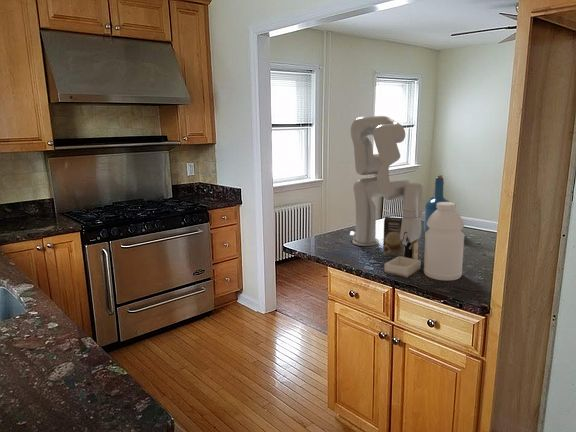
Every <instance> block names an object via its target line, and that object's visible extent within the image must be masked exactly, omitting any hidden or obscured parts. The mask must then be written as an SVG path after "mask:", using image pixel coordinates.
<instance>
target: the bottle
mask: <svg viewBox="0 0 576 432" xmlns="http://www.w3.org/2000/svg"><path fill="white" fill-rule="evenodd" d="M456 207H457V206H456V203H454V202H450V201H449V202H439V203H437V205H436V208H438V209H437V210H435V211H434V212H433V213H432V214H431V216H430V217H429V219H428V221H427V223H426V224H427V226H428V227H429V229H428V230H427V231H426V232H425V231H424V258H423V259H424V260H423V261H424V262H423V263H424V264H423V273H424V275H425V276H427V277H428V278H430V279H434V280H438V281H446V282H447V281H457V280H458V279H460V278H461V277H462V275H463V262H464V246H465V237H466V236H465V234H464V232H462V230H463V228H464V227H465V224H464V221H463V219H462V217H461V215H460V214H459V213H458V211H457V210H456Z"/></svg>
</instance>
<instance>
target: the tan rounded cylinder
mask: <svg viewBox="0 0 576 432" xmlns="http://www.w3.org/2000/svg"><path fill="white" fill-rule="evenodd" d="M407 241H409V240H407ZM408 244H409V245H410V243H408ZM403 257H405V248H404V256H403ZM406 258H407V257H406ZM411 259H416V260H419V240H418V241H413V242H412V258H411Z"/></svg>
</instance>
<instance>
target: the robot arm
mask: <svg viewBox="0 0 576 432" xmlns="http://www.w3.org/2000/svg"><path fill="white" fill-rule="evenodd" d="M368 136H372V137H373V141H374V144H375V148H376V150H377V153H374V151H373V144H372V142H371V140H370V138H369V137H368ZM350 137H351V140H352V144H353V150H354V151H353V152H354V153H353V154H354V166H355V167H354V168H355V171H356V172H355V173H356V174H357V175H359V176H369V175H370V176H371V175H373V176H374V177H364V178H359V179H358V180H356V181H355V182H354V184H353V193H354V200H355V202H354V204H355V231H350V233H349V237H350V238H353V239H352V241H351V242H352V244H353V245H356V246H360V247H374V246H376V245H379V239H378V238H376V234H377V233H376V231H377V230H376V229H377V228H376V227H377V226H376V223H377V221H376V220H377V215H376V214H377V212H376V211H377V208H376V207H377V206H376V204H375V202H374V200H373V198H380V197H383V199H384V200H386V201H395V200H401V199H402V218H403V219H402V224H401V233H400V240H401V241H403V242H402V244H403V245H404V248H405V257H407V258H412V242H413V241H418V242H419V239H420V238H421V236H422V234H421V233H422V216H423V214H422V213H423V185H422V184H421V183H419V182H417V183H415V182H412V181H410V180H407V179H406V180H405V179H404V180H396V181H395V180H394V181H391V180H390V166H391V165H393V164H394V163H396V162H398V161H400V159H401V153H400V149H399V148H398V144H399V143H402V142H403V141H404V140H405V138H406V130H405V127H403V125H402V124H401V123H399V122H398V121H396V120H394V119H392V118H390V117H389V116H386V115H374V116H370V115H369V116H360V117H357V118H355V119H354V120H353V121H352V123H351V127H350ZM407 240H409V241H407ZM408 243H410V245H409V244H408Z"/></svg>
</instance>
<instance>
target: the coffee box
mask: <svg viewBox="0 0 576 432" xmlns="http://www.w3.org/2000/svg"><path fill="white" fill-rule="evenodd" d="M402 219H403V217H397V216H396V217H394V216H393V217H392V216H385V217H384V219H383V243H382V245H383V247H382V248H383V249H382V255H383V256H394V257H398V256H401V257H404V245H403V244H402V242H403V241H401V240H400V233H401V224H402Z"/></svg>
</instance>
